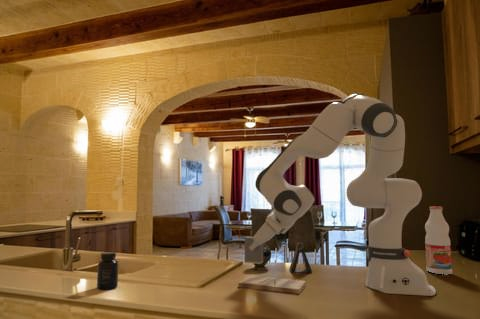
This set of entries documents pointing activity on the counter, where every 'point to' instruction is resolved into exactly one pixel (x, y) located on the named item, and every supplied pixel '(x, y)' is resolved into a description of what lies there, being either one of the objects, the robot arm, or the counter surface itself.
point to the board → (273, 284)
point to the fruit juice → (437, 243)
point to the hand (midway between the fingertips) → (252, 247)
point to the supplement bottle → (107, 271)
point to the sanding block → (253, 252)
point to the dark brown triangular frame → (295, 260)
